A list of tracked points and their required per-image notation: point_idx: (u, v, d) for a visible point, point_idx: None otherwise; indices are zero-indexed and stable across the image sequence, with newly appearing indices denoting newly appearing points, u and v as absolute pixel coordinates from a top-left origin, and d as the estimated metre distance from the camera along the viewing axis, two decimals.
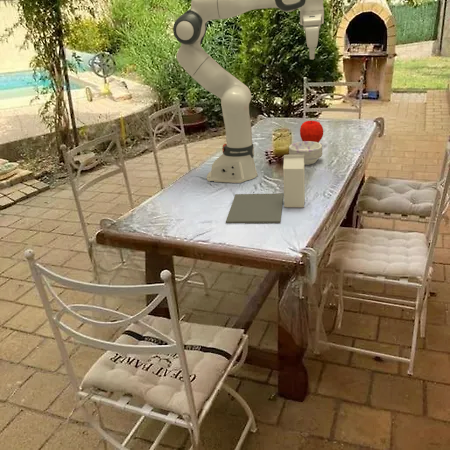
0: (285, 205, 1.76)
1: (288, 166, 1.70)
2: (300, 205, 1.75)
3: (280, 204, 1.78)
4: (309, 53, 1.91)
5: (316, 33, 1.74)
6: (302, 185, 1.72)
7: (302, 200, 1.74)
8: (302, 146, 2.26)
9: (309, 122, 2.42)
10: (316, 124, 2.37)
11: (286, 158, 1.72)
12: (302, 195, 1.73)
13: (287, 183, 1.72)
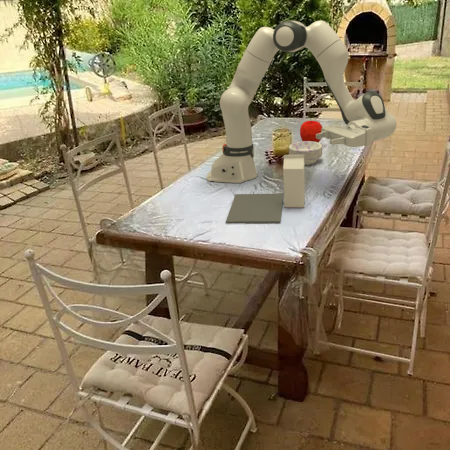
0: (285, 205, 1.76)
1: (288, 166, 1.70)
2: (300, 205, 1.75)
3: (280, 204, 1.78)
4: (319, 133, 1.78)
5: (361, 144, 1.68)
6: (302, 185, 1.72)
7: (302, 200, 1.74)
8: (302, 146, 2.26)
9: (309, 122, 2.42)
10: (316, 124, 2.37)
11: (286, 158, 1.72)
12: (302, 195, 1.73)
13: (287, 183, 1.72)
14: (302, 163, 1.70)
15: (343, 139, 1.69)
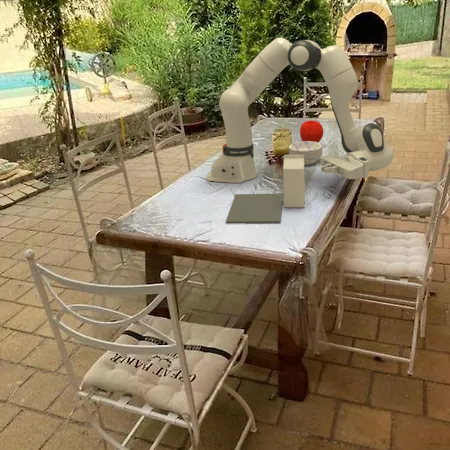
0: (285, 205, 1.76)
1: (288, 166, 1.70)
2: (300, 205, 1.75)
3: (280, 204, 1.78)
4: (324, 166, 1.79)
5: (359, 176, 1.73)
6: (302, 185, 1.72)
7: (302, 200, 1.74)
8: (302, 146, 2.26)
9: (309, 122, 2.42)
10: (316, 124, 2.37)
11: (286, 158, 1.72)
12: (302, 195, 1.73)
13: (287, 183, 1.72)
14: (302, 163, 1.70)
15: (335, 168, 1.77)
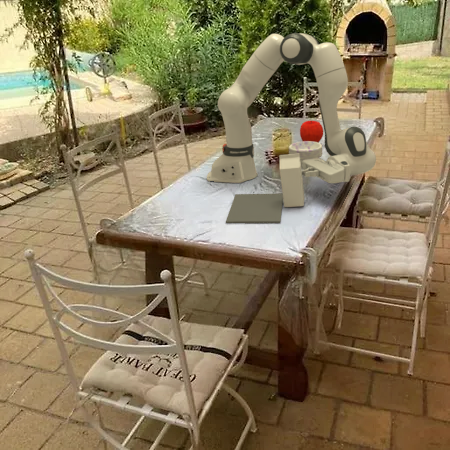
0: (285, 205, 1.76)
1: (284, 166, 1.70)
2: (300, 204, 1.75)
3: (280, 204, 1.78)
4: (305, 170, 1.76)
5: (340, 180, 1.71)
6: (300, 184, 1.71)
7: (301, 199, 1.74)
8: (302, 146, 2.26)
9: (309, 122, 2.42)
10: (316, 124, 2.37)
11: (282, 158, 1.72)
12: (301, 194, 1.73)
13: (284, 183, 1.72)
14: (298, 162, 1.70)
15: (316, 172, 1.74)
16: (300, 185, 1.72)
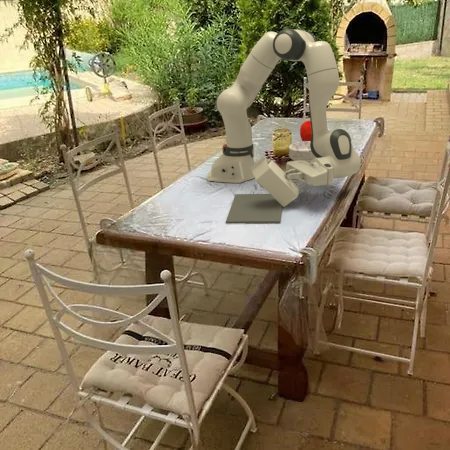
0: (283, 205, 1.76)
1: (258, 174, 1.73)
2: (294, 196, 1.73)
3: (280, 204, 1.78)
4: (287, 171, 1.75)
5: (323, 183, 1.68)
6: (281, 180, 1.71)
7: (292, 191, 1.73)
8: (302, 146, 2.26)
9: (309, 122, 2.42)
10: None
11: (253, 169, 1.75)
12: (288, 188, 1.72)
13: (268, 188, 1.74)
14: (266, 164, 1.71)
15: (300, 174, 1.72)
16: (282, 181, 1.71)
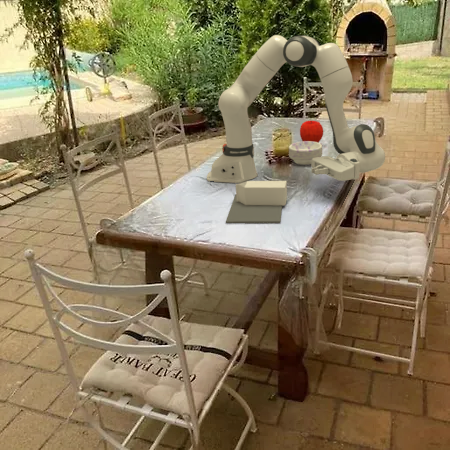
0: (283, 204, 1.76)
1: (243, 199, 1.79)
2: (282, 190, 1.74)
3: None
4: (314, 168, 1.77)
5: (350, 178, 1.72)
6: (261, 188, 1.75)
7: (277, 188, 1.74)
8: (302, 146, 2.26)
9: (309, 122, 2.42)
10: (316, 124, 2.37)
11: (239, 199, 1.82)
12: (271, 188, 1.74)
13: (259, 202, 1.78)
14: (241, 186, 1.78)
15: (326, 169, 1.75)
16: (262, 188, 1.75)
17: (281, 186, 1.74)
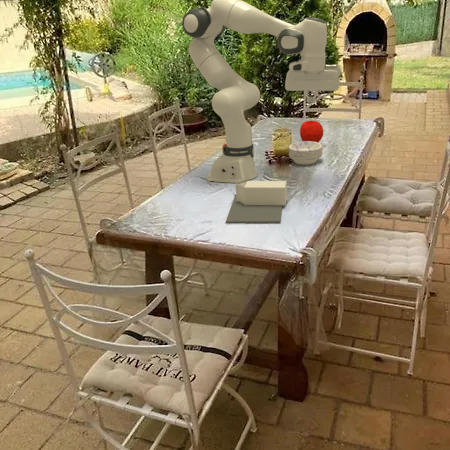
0: (283, 204, 1.76)
1: (243, 199, 1.79)
2: (282, 190, 1.74)
3: None
4: None
5: (286, 77, 1.80)
6: (261, 188, 1.75)
7: (277, 188, 1.74)
8: (302, 146, 2.26)
9: (309, 122, 2.42)
10: (316, 124, 2.37)
11: (239, 199, 1.82)
12: (271, 188, 1.74)
13: (259, 202, 1.78)
14: (241, 186, 1.78)
15: None
16: (262, 188, 1.75)
17: (281, 186, 1.74)
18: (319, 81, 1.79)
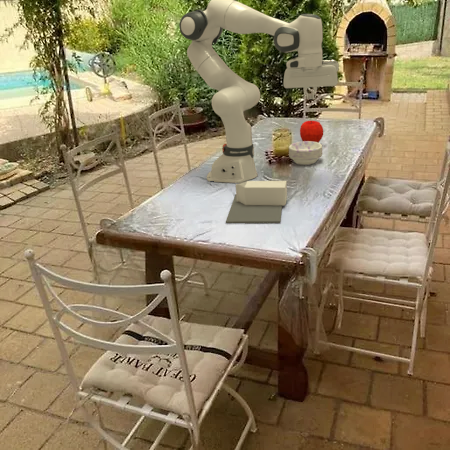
0: (283, 204, 1.76)
1: (243, 199, 1.79)
2: (282, 190, 1.74)
3: None
4: None
5: (284, 75, 1.81)
6: (261, 188, 1.75)
7: (277, 188, 1.74)
8: (302, 146, 2.26)
9: (309, 122, 2.42)
10: (316, 124, 2.37)
11: (239, 199, 1.82)
12: (271, 188, 1.74)
13: (259, 202, 1.78)
14: (241, 186, 1.78)
15: None
16: (262, 188, 1.75)
17: (281, 186, 1.74)
18: (317, 77, 1.79)
